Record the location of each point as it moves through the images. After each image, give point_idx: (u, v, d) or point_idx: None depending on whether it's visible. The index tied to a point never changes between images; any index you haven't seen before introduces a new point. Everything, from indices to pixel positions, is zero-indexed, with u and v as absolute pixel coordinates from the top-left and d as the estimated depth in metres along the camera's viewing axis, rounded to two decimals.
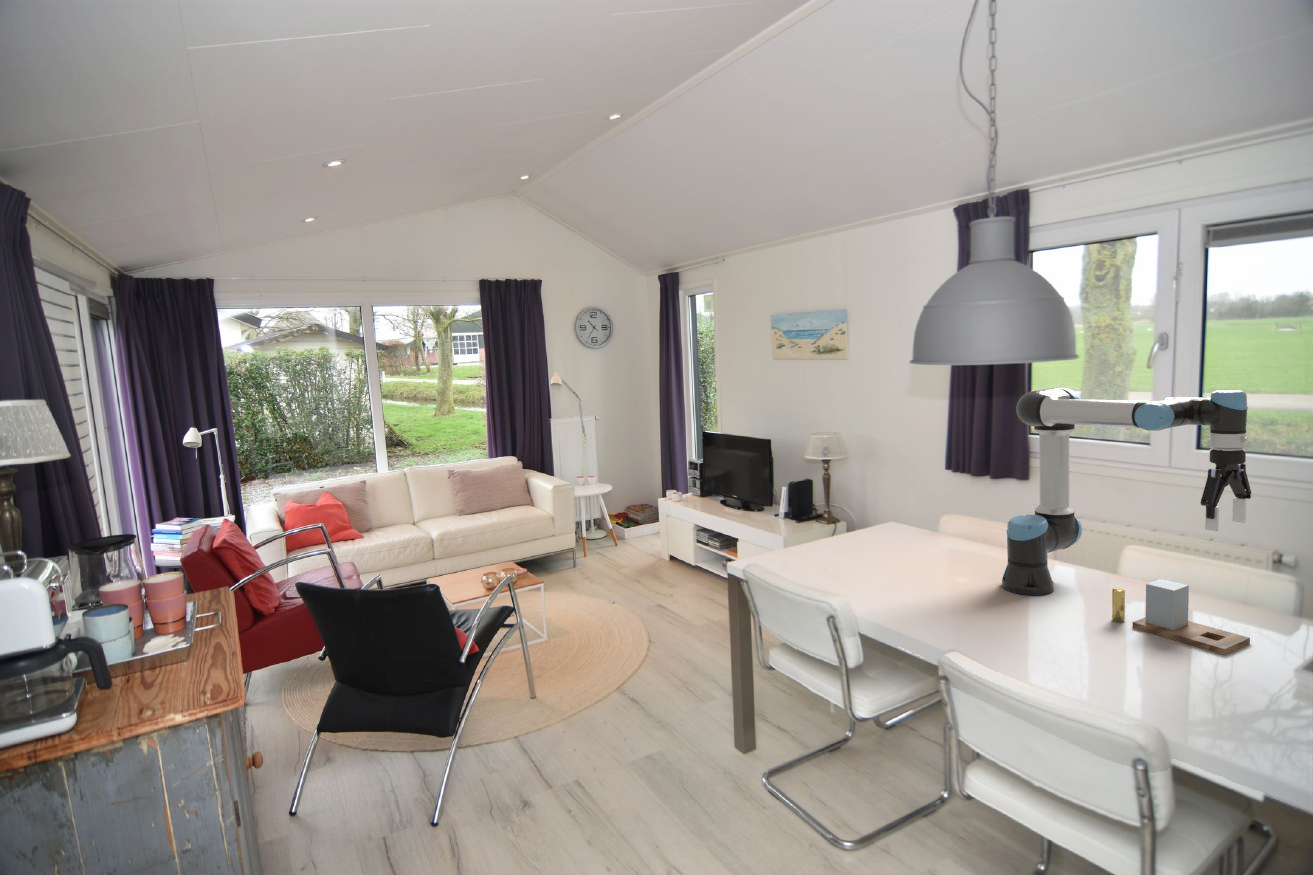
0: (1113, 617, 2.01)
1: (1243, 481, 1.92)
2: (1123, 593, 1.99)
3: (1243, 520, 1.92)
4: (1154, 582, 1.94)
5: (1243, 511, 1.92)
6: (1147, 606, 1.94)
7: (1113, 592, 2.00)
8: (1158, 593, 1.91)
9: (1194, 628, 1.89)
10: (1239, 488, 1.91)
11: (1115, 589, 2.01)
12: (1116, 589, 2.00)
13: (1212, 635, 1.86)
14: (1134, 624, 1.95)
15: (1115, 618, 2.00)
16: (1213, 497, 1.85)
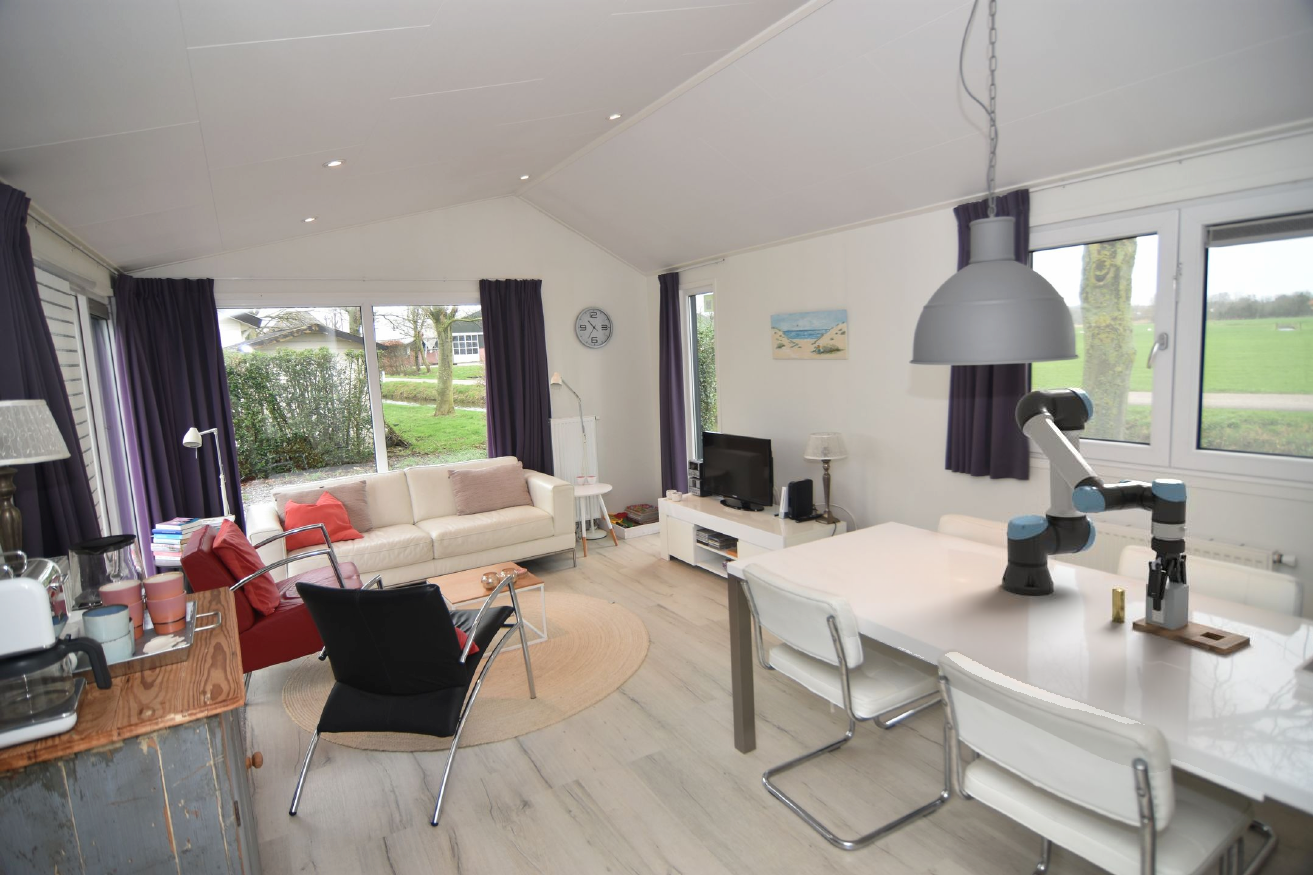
0: (1113, 617, 2.01)
1: (1181, 572, 1.94)
2: (1123, 593, 1.99)
3: None
4: None
5: None
6: (1147, 606, 1.94)
7: (1113, 592, 2.00)
8: None
9: (1194, 628, 1.89)
10: (1176, 579, 1.93)
11: (1115, 589, 2.01)
12: (1116, 589, 2.00)
13: (1212, 635, 1.86)
14: (1134, 624, 1.95)
15: (1115, 618, 2.00)
16: (1158, 590, 1.88)
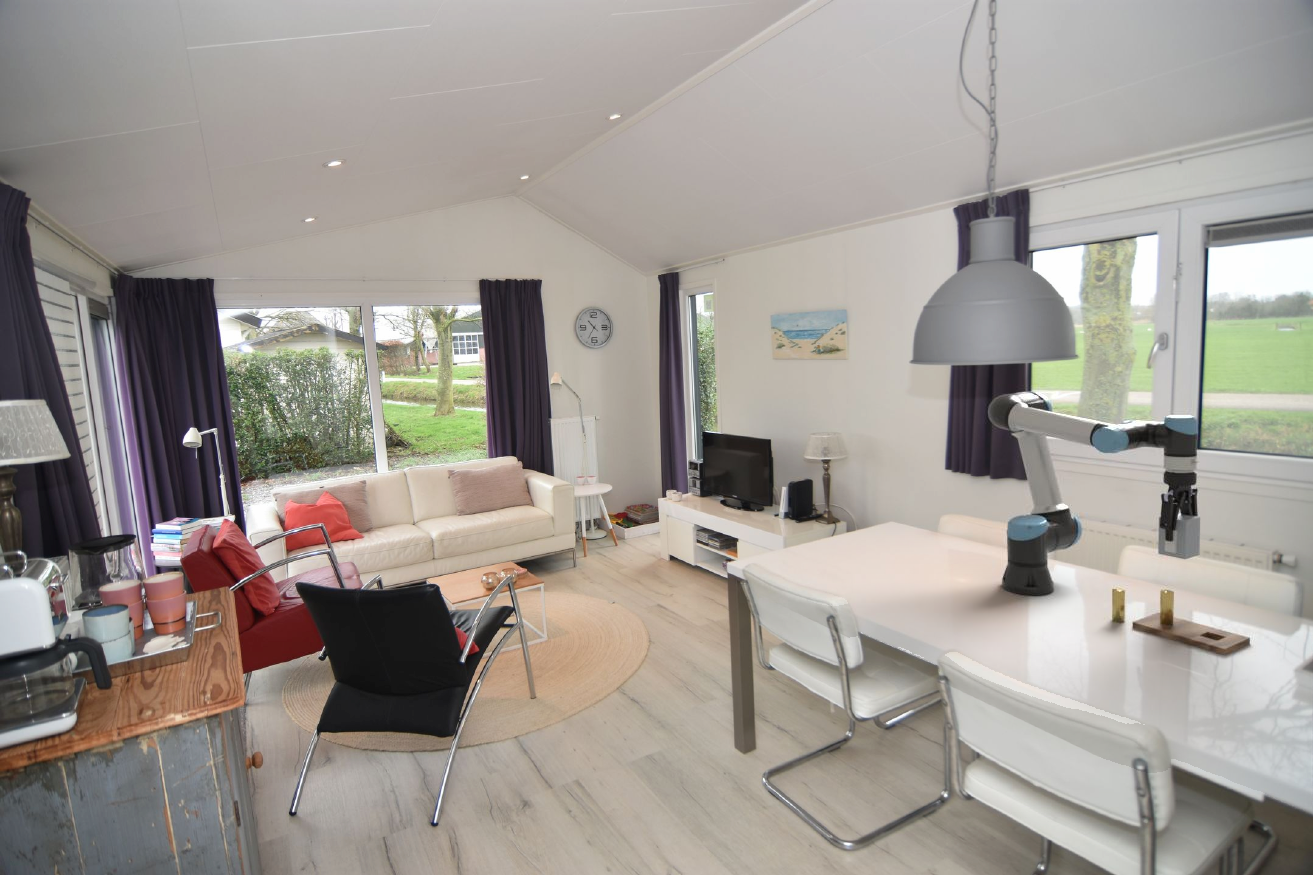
0: (1113, 617, 2.01)
1: (1192, 505, 2.02)
2: (1123, 593, 1.99)
3: None
4: None
5: None
6: (1160, 538, 2.02)
7: (1113, 592, 2.00)
8: None
9: (1194, 628, 1.89)
10: (1188, 512, 2.01)
11: (1115, 589, 2.01)
12: (1116, 589, 2.00)
13: (1212, 635, 1.86)
14: (1134, 624, 1.95)
15: (1115, 618, 2.00)
16: (1170, 521, 1.96)
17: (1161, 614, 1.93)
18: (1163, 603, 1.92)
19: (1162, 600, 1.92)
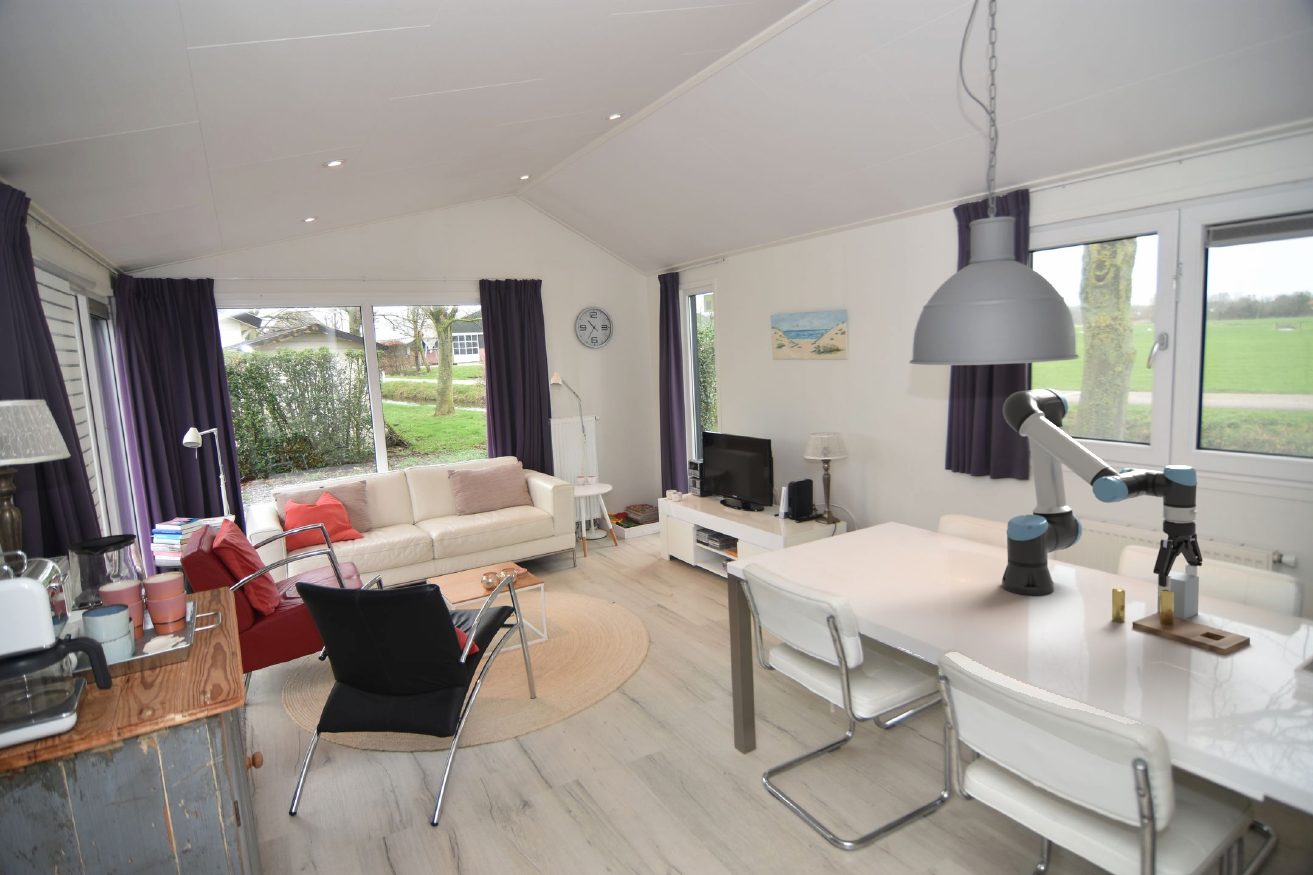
0: (1113, 617, 2.01)
1: (1194, 549, 2.04)
2: (1123, 593, 1.99)
3: None
4: None
5: None
6: (1159, 597, 2.04)
7: (1113, 592, 2.00)
8: (1170, 584, 2.01)
9: (1194, 628, 1.89)
10: (1190, 556, 2.03)
11: (1115, 589, 2.01)
12: (1116, 589, 2.00)
13: (1212, 635, 1.86)
14: (1134, 624, 1.95)
15: (1115, 618, 2.00)
16: (1165, 566, 1.97)
17: (1161, 614, 1.93)
18: (1163, 603, 1.92)
19: (1162, 600, 1.92)
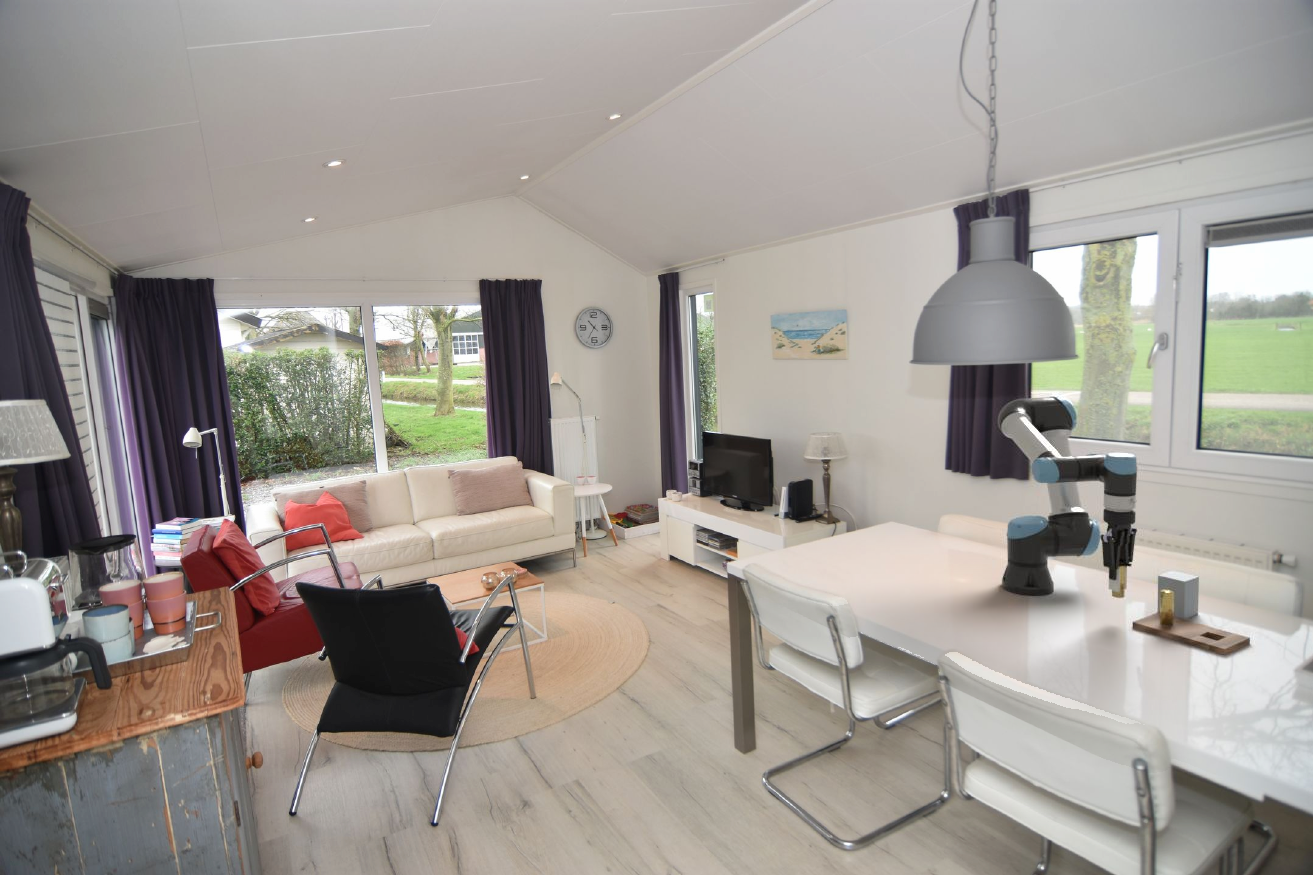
0: (1112, 592, 2.01)
1: (1129, 545, 2.00)
2: (1123, 568, 1.98)
3: None
4: (1166, 574, 2.05)
5: None
6: (1159, 597, 2.04)
7: None
8: (1170, 584, 2.01)
9: (1194, 628, 1.89)
10: (1124, 551, 1.99)
11: None
12: None
13: (1212, 635, 1.86)
14: (1134, 624, 1.95)
15: (1115, 594, 2.00)
16: (1112, 560, 1.96)
17: (1161, 614, 1.93)
18: (1163, 603, 1.92)
19: (1162, 600, 1.92)
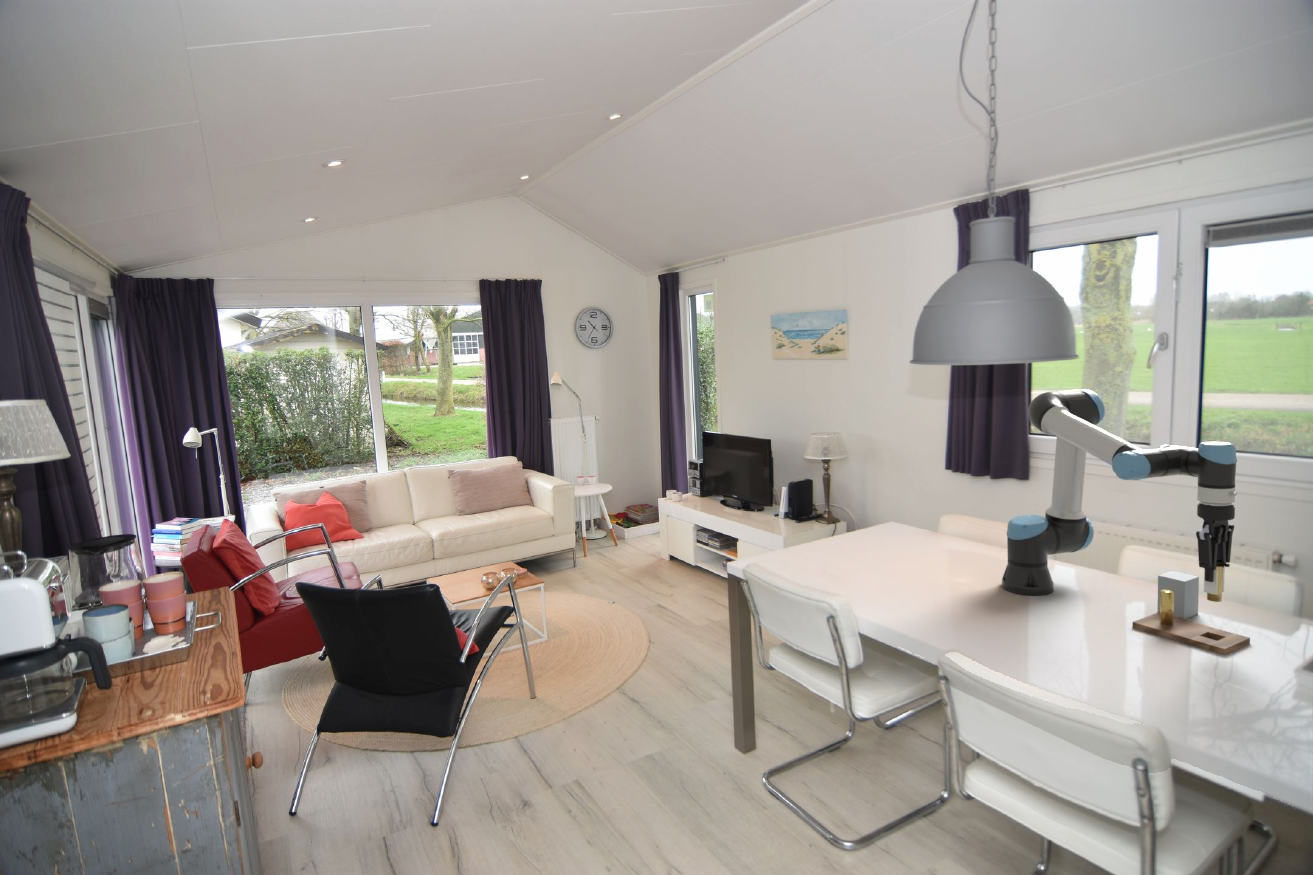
0: (1208, 596, 1.82)
1: (1226, 544, 1.82)
2: (1221, 569, 1.80)
3: None
4: (1166, 574, 2.05)
5: None
6: (1159, 597, 2.04)
7: None
8: (1170, 584, 2.01)
9: (1194, 628, 1.89)
10: (1221, 550, 1.81)
11: None
12: None
13: (1212, 635, 1.86)
14: (1134, 624, 1.95)
15: (1211, 597, 1.81)
16: (1210, 560, 1.78)
17: (1161, 614, 1.93)
18: (1163, 603, 1.92)
19: (1162, 600, 1.92)
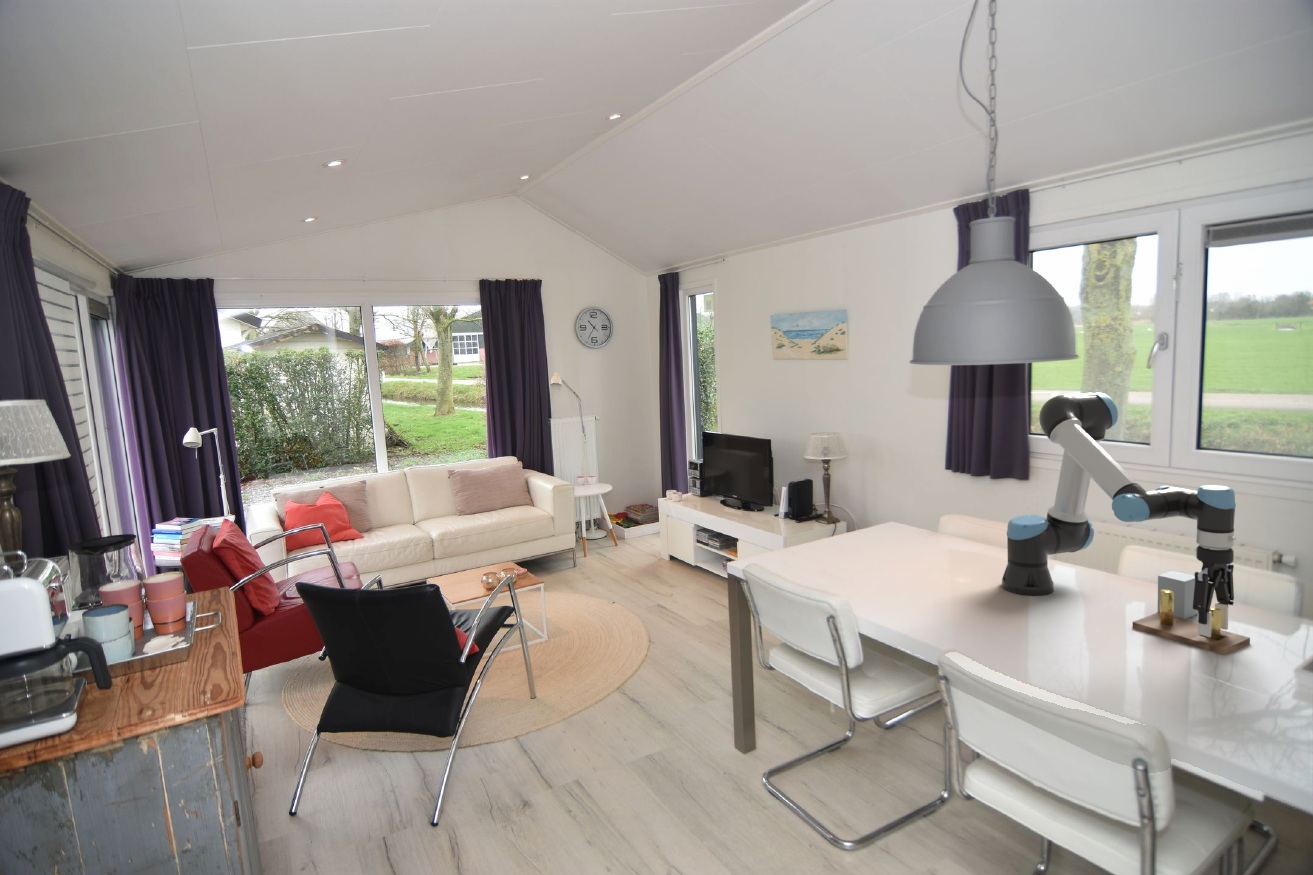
0: None
1: (1228, 583, 1.84)
2: (1219, 612, 1.81)
3: (1225, 627, 1.84)
4: (1166, 574, 2.05)
5: (1225, 618, 1.84)
6: (1159, 597, 2.04)
7: None
8: (1170, 584, 2.01)
9: (1194, 628, 1.89)
10: (1223, 590, 1.83)
11: None
12: (1210, 608, 1.83)
13: None
14: (1134, 624, 1.95)
15: None
16: (1204, 602, 1.78)
17: (1161, 614, 1.93)
18: (1163, 603, 1.92)
19: (1162, 600, 1.92)
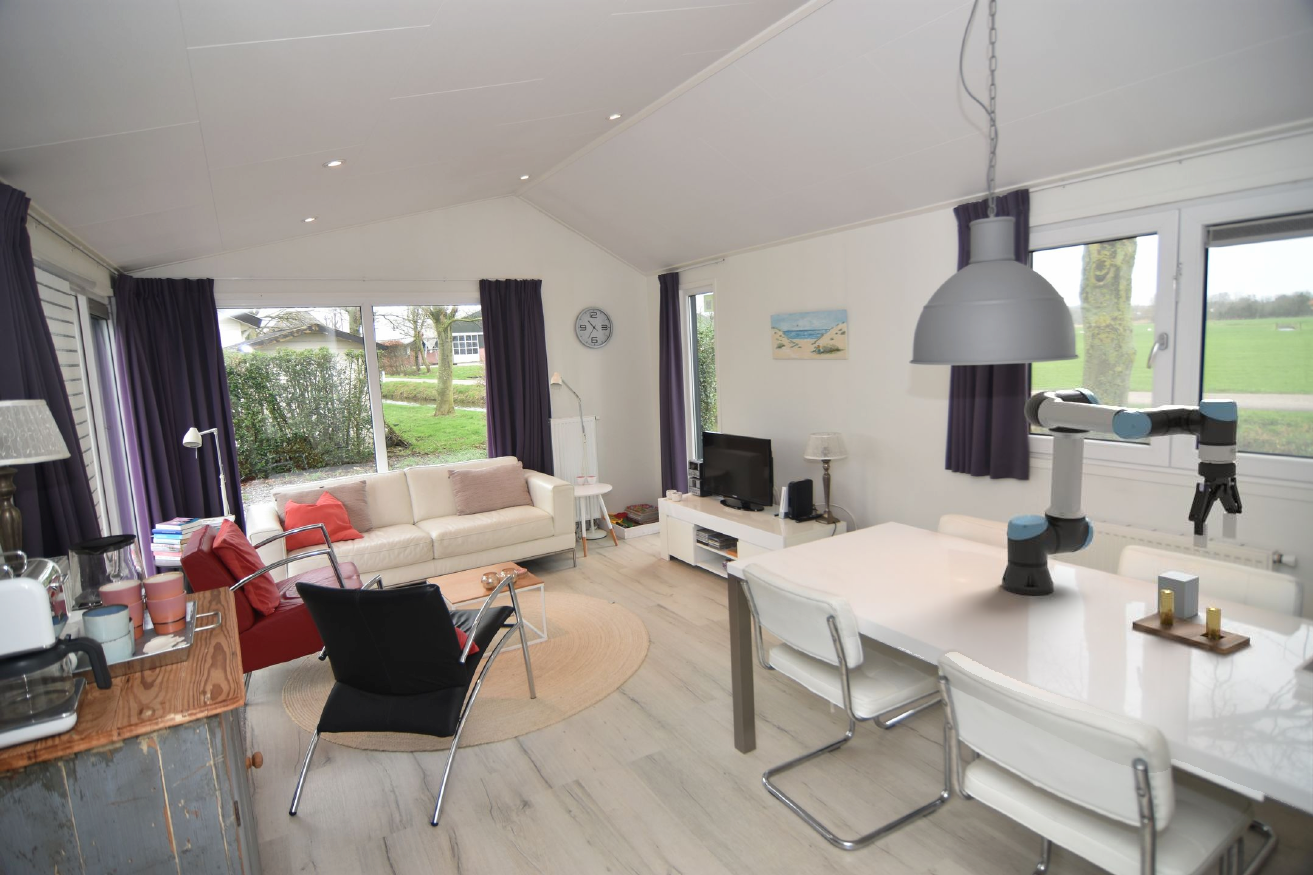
0: None
1: (1233, 495, 1.82)
2: (1219, 612, 1.81)
3: (1234, 536, 1.82)
4: (1166, 574, 2.05)
5: (1234, 527, 1.82)
6: (1159, 597, 2.04)
7: (1208, 611, 1.83)
8: (1170, 584, 2.01)
9: (1194, 628, 1.89)
10: (1229, 502, 1.81)
11: (1209, 608, 1.83)
12: (1210, 608, 1.83)
13: None
14: (1134, 624, 1.95)
15: None
16: (1201, 512, 1.75)
17: (1161, 614, 1.93)
18: (1163, 603, 1.92)
19: (1162, 600, 1.92)
